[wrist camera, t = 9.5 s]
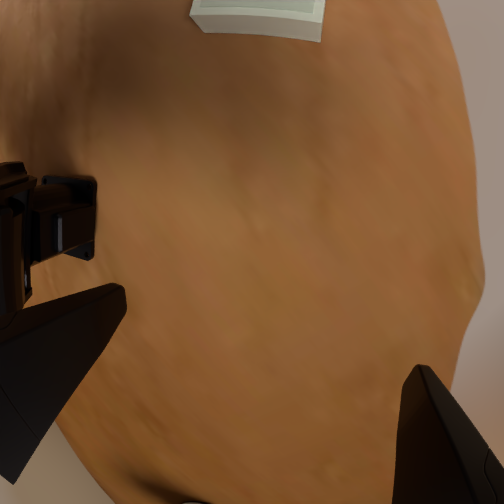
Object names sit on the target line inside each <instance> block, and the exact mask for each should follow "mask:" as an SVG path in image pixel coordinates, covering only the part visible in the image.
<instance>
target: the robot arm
mask: <svg viewBox="0 0 504 504" xmlns="http://www.w3.org/2000/svg"><path fill="white" fill-rule="evenodd" d="M46 180H47V182H46ZM36 183H37V178H36V177H33V176H30V175H27V171H26V170H25V167H24V164H23V162H20V161H14V162H4V163H0V475H1V476H2V477H4V478H5V479H6V480H7V481H9V482H10V483H11V484H13V485H14V483H15V482H16V481H17V479H18V477H19V476H20V474H21V472H22V471H23V469H24V467H25V466H26V464H27V463H28V461H29V459H30V458H31V456H32V455H33V453H34V451H35V450H36V448H37V446H38V445H39V443H40V441H41V440H42V438H43V437H44V435H45V434H46V432H47V431H48V429H49V428H50V426H51V425H52V423H53V422H54V420H55V419H56V417H57V416H58V414H59V413H60V411H61V410H62V408H63V407H64V405H65V404H66V402H67V401H68V400H69V398H70V397H71V395H72V394H73V392H74V391H75V389H76V388H77V387H78V385H79V384H80V382H81V381H82V380H83V378H84V377H85V375H86V374H87V373H88V371H89V370H90V368H91V367H92V366H93V364H94V363H95V361H96V360H97V359H98V357H99V356H100V355H101V353H102V352H103V350H104V349H105V347H106V346H107V344H108V342H109V341H110V339H111V337H112V336H113V334H114V332H115V331H116V329H117V327H118V325H119V324H120V322H121V320H122V319H123V317H124V316H125V314H126V311H127V303H126V295H125V289H124V287H123V286H122V285H119V284H116V283H109V284H105V285H102V286H99V287H95V288H92V289H88V290H85V291H82V292H78V293H75V294H71V295H68V296H65V297H61V298H58V299H55V300H51V301H48V302H45V303H41V304H38V305H35V306H31V307H28V308H25V309H22V308H23V307H24V304H25V303H26V302H27V300H28V299H29V298H30V297H31V296H32V287H31V275H30V267H31V266H34V265H36V264H38V263H41V262H43V261H45V260H48V259H50V258H52V257H55V256H57V255H60V254H62V253H64V254H67V255H70V256H73V257H76V258H80V259H83V260H86V261H89V260H91V259H93V257H94V226H95V205H96V190H97V185H96V182H95V181H93V180H86V179H78V178H69V177H60V176H51V175H46V176H43V178H42V185H40V186H36ZM90 185H91V189H90ZM87 252H88V254H89V256H88V255H87ZM392 504H504V468H503V466H502V465H501V463H500V462H499V460H498V459H497V458H496V456H495V455H494V453H493V452H492V450H491V449H490V448H489V446H488V444H487V443H486V442H485V440H484V439H483V437H482V436H481V435H480V433H479V432H478V430H477V429H476V427H475V426H474V425H473V423H472V422H471V420H470V419H469V418H468V416H467V415H466V414H465V412H464V411H463V409H462V408H461V407H460V405H459V404H458V403H457V401H456V400H455V399H454V397H453V396H452V395H451V393H450V392H449V391H448V389H447V388H446V387H445V386H444V384H443V383H442V382H441V380H440V379H439V378H438V376H437V375H436V374H435V373H434V371H433V370H432V369H431V368H430V367H429V366H427V365H421V364H417V365H416V366H415V367H414V368H413V369H412V371H411V373H410V374H409V376H408V377H407V379H406V380H405V382H404V384H403V387H402V393H401V403H400V412H399V420H398V428H397V441H396V462H395V476H394V488H393V497H392Z"/></svg>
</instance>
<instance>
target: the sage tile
mask: <svg viewBox="0 0 504 504" xmlns="http://www.w3.org/2000/svg"><path fill="white" fill-rule="evenodd" d="M325 6H326V0H194V1H193V4H192V8H191V11H190V15H189V16H190V17H191V18H192V19H193V20H194V21H195V23H196V24H197V25H198V26H199V27H200V29H201V30H202V31H203V32H204V33H238V34H255V35H267V36H277V37H286V38H294V39H301V40H307V41H314V42H319V43H320V42H321V35H322V28H323V21H324V13H325Z"/></svg>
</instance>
